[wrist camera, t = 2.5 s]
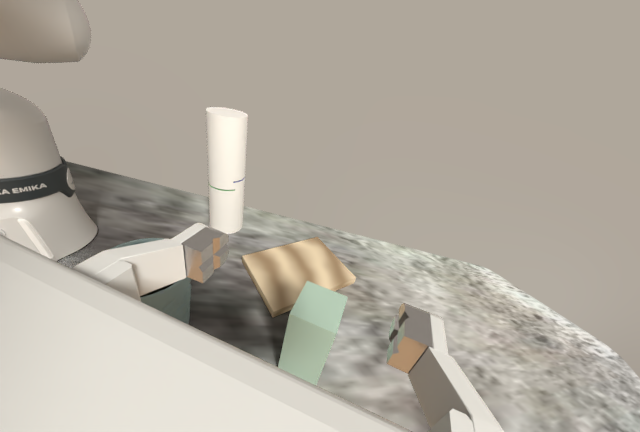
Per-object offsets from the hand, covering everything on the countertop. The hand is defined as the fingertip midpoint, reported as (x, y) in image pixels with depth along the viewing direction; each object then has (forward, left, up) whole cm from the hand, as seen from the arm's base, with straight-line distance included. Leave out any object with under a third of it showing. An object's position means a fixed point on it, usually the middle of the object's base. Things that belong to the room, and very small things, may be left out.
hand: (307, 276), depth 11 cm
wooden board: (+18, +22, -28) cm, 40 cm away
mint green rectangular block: (+10, +7, -28) cm, 30 cm away
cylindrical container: (+10, +42, -28) cm, 52 cm away
